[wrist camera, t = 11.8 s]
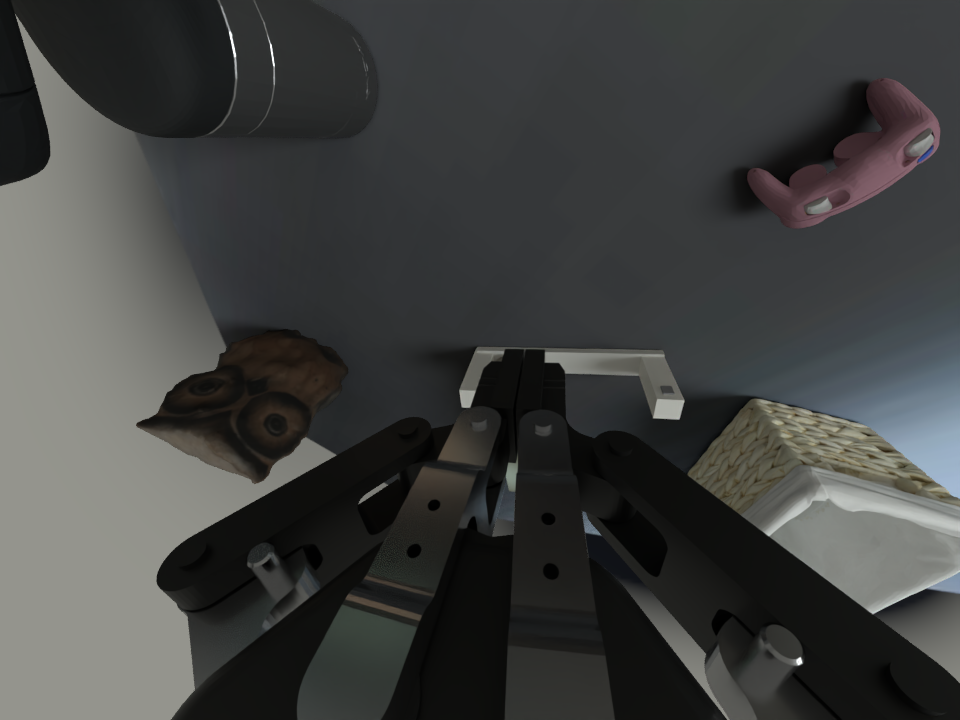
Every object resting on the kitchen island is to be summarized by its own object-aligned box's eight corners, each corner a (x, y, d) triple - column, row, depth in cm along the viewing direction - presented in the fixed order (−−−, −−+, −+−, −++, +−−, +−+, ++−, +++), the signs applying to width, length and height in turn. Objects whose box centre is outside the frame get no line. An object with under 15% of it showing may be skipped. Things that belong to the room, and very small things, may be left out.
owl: (256, 324, 50) (106, 415, 34) (329, 314, 47) (203, 410, 30) (296, 394, 57) (186, 500, 40) (364, 390, 53) (275, 504, 37)
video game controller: (749, 206, 33) (801, 248, 29) (737, 172, 30) (793, 214, 26) (882, 116, 28) (969, 151, 24) (883, 66, 25) (982, 95, 21)
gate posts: (477, 366, 47) (462, 409, 39) (475, 346, 45) (458, 387, 38) (657, 371, 42) (678, 422, 35) (662, 350, 40) (685, 397, 33)
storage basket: (756, 532, 53) (815, 649, 41) (650, 502, 54) (676, 608, 42) (886, 418, 40) (1030, 543, 28) (741, 382, 41) (818, 486, 29)
